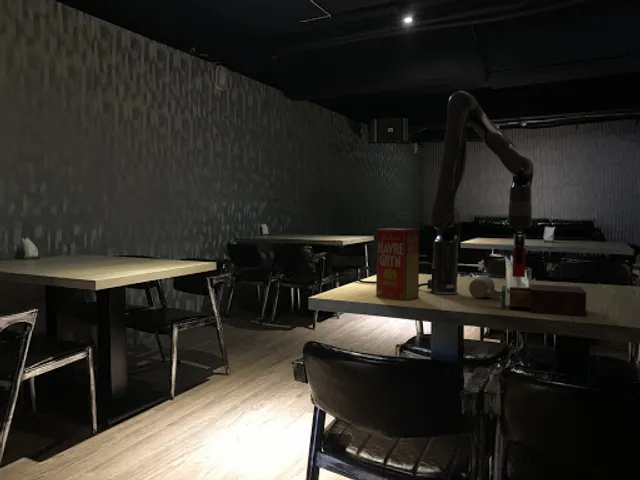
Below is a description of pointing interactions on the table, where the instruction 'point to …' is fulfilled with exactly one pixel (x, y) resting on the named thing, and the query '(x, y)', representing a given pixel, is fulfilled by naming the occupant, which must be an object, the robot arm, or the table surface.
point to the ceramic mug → (482, 287)
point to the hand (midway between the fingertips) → (518, 262)
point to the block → (518, 265)
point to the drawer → (514, 296)
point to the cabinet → (558, 300)
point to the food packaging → (397, 263)
